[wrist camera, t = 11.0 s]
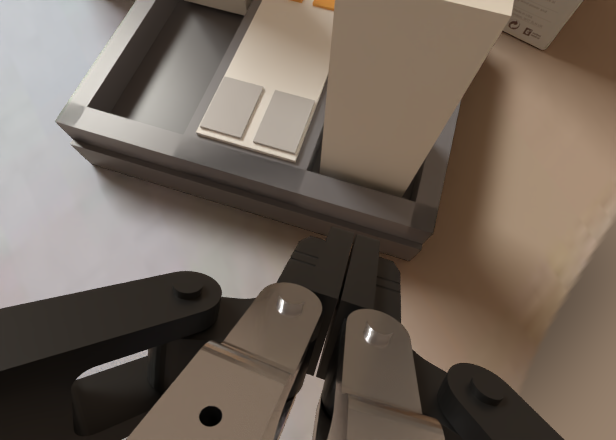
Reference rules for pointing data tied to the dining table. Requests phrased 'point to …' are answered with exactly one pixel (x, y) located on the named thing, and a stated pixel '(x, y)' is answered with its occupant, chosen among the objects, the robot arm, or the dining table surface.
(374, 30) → the cream tall block
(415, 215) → the grey tray
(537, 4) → the supplement box
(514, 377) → the dining table surface
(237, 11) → the tab far
